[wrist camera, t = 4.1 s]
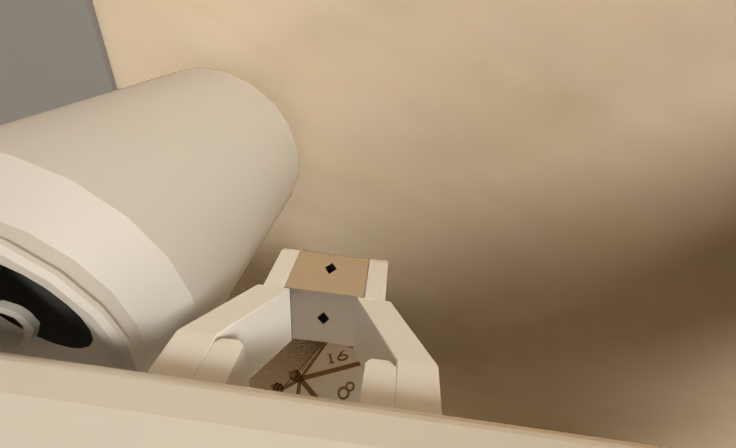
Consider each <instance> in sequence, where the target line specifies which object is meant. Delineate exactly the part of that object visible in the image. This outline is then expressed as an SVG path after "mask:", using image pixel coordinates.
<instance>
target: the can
mask: <svg viewBox="0 0 736 448" xmlns="http://www.w3.org/2000/svg"><path fill="white" fill-rule="evenodd" d="M297 178H298V151H297V148H296V145H295V142H294V138H293V135H292V132H291V129H290V127H289V126H288V124H287V123H286V121H285V120H284V118H283V117H282V115H281V114H280V112H279V111H278V109H277V107H276V106H275V105H274V104H273V103H272V102H271V101H270V100H269V99H268V98H267V97H265V96H264V95H263V94H262V93H261V92H260V91H259V90H257V89H256V88H255V87H254V86H253V85H252V84H250V83H248V82H245V81H243V80H241V79H239V78H237V77H235V76H233V75H231V74H229V73H227V72H224V71H217V70H210V69H203V68H193V69H189V70H184V71H180V72H175V73H171V74H168V75H165V76H161V77H158V78H155V79H151V80H148V81H145V82H142V83H138V84H135V85H132V86H128V87H125V88H122V89H118V90H115V91H112V92H108V93H105V94H102V95H98V96H95V97H92V98H89V99H85V100H82V101H79V102H75V103H72V104H69V105H65V106H62V107H59V108H55V109H52V110H49V111H45V112H42V113H39V114H36V115H32V116H29V117H26V118H22V119H19V120H16V121H12V122H9V123H6V124H2V125H0V352H5V353H12V354H19V355H26V356H33V357H40V358H47V359H54V360H61V361H68V362H75V363H83V364H90V365H97V366H104V367H111V368H118V369H125V370H132V371H139V372H146V373H147V372H148V370H149V369H150V368H151V366H152V365H153V363H154V362H155V361H156V359H157V358H158V356H159V355H160V354H161V352H162V351H163V349H164V348H165V347H166V345H167V344H168V342H169V341H170V340H171V338H172V337H173V335H174V334H175V333H176V331H177V330H178V329H180V328H182V327H184V326H185V325H187V324H189V323H191V322H193V321H194V320H196V319H198V318H200V317H201V316H203V315H205V314H207V313H208V312H210V311H212V310H214V309H215V308H217V307H219V306H221V305H222V304H224V303H225V302H226V301H227V299H228V297H229V296H230V294H231V292H232V291H233V289H234V287H235V286H236V284H237V283H238V281H239V279H240V278H241V276H242V274H243V273H244V271H245V270H246V268H247V266H248V265H249V263H250V261H251V260H252V258H253V256H254V255H255V253H256V252H257V250H258V248H259V247H260V245H261V243H262V242H263V240H264V239H265V237H266V235H267V234H268V232H269V230H270V229H271V227H272V225H273V224H274V222H275V221H276V219H277V217H278V216H279V214H280V212H281V211H282V209H283V208H284V206H285V204H286V203H287V201H288V199H289V198H290V196H291V194H292V191H293V188H294V186H295V183H296V181H297Z"/></svg>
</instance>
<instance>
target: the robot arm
mask: <svg viewBox="0 0 736 448" xmlns="http://www.w3.org/2000/svg"><path fill="white" fill-rule="evenodd" d="M369 261H370V262H369ZM387 271H388V261H387V260H377V259H363V258H355V257H347V256H338V255H333V254H326V253H319V252H312V251H306V250H298V249H290V248H284V249H282V250H281V252H280V253H279V255H278V257H277V259H276V261H275V263H274V265H273V267H272V269H271V271H270V273H269V275H268V276H267V278H266V280H265V282H264V284H263V285H260V284H258V285H256V286H254V287H252V288H251V289H249V290H247V291H245V292H243V293H242V294H240V295H238V296H236V297H235V298H233V299H231V300H229V301H228V302H226V303H224V304H222V305H221V306H219V307H217V308H215V309H214V310H212V311H210V312H208V313H207V314H205V315H203V316H201V317H200V318H198V319H196V320H194V321H193V322H191V323H189V324H187V325H185V326H184V327H182V328H180V329H178V330H177V331H176V333H175V334H174V335H173V337H172V338H171V340H170V341H169V342H168V344H167V345H166V347H165V348H164V349H163V351H162V352H161V354H160V355H159V356H158V358H157V359H156V361H155V362H154V363H153V365H152V366H151V368H150V369H149V370H148V372H147V373H146V372H139V371H132V370H125V369H118V368H111V367H104V366H97V365H90V364H83V363H75V362H68V361H61V360H54V359H47V358H40V357H33V356H26V355H19V354H12V353H5V352H0V448H672V447H664V446H657V445H650V444H643V443H636V442H629V441H622V440H615V439H608V438H601V437H595V436H588V435H581V434H574V433H567V432H560V431H553V430H546V429H539V428H532V427H525V426H518V425H511V424H504V423H497V422H490V421H483V420H476V419H469V418H462V417H455V416H448V415H442V406H441V394H440V381H439V369H438V365H437V364H436V363H435V361H434V360H433V359H432V357H431V356H430V355H429V353H428V352H427V351H426V349H425V348H424V346H423V345H422V344H421V342H420V341H419V340H418V338H417V337H416V336H415V334H414V333H413V332H412V330H411V329H410V328H409V326H408V325H407V323H406V322H405V321H404V319H403V318H402V317H401V315H400V314H399V313H398V311H397V310H396V309H395V307H394V306H393V304H392V303H391V302H390V301H385V296H386V283H387ZM292 338H293V339H303V340H312V341H321V342H328V343H334V344H340V345H346V346H352V347H353V349H354V351H355V353H356V356H357V358H358V360H359V362H360V364H361V367H362V369H363V371H364V376H363V383H362V390H361V397H360V403H356V402H349V401H342V400H335V399H328V398H321V397H314V396H307V395H300V394H293V393H286V392H279V391H272V390H265V389H258V388H251V387H250V384H249V379H251V378H252V377H253V376H254V375H255V374H256V373H257V372H258V371H259V370H260V369H261V368H262V367H263V366H265V365H266V364H267V363H268V362H269V361H270V360H271V359H272V358H273V357H274V356H275V355H276V354H278V353H279V352H280V351H281V350H282V349H283V348H284V347H285V346H286V345H287V344H288V343H289V342H291V341H292Z"/></svg>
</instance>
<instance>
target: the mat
mask: <svg viewBox="0 0 736 448" xmlns="http://www.w3.org/2000/svg"><path fill="white" fill-rule="evenodd" d="M115 90H117V87H116V84H115V80H114V77H113V73H112V70H111V67H110V63H109V60H108V56H107V53H106V49H105V46H104V42H103V39H102V35H101V32H100V28H99V25H98V21H97V18H96V14H95V11H94V7H93V4H92V1H91V0H0V125H2V124H6V123H9V122H12V121H16V120H19V119H22V118H26V117H29V116H32V115H36V114H39V113H42V112H45V111H49V110H52V109H55V108H59V107H62V106H65V105H69V104H72V103H75V102H79V101H82V100H85V99H89V98H92V97H95V96H98V95H102V94H105V93H108V92H112V91H115Z"/></svg>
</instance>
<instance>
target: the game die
mask: <svg viewBox="0 0 736 448" xmlns="http://www.w3.org/2000/svg"><path fill="white" fill-rule="evenodd" d="M289 374H290V380H289V381H288V382H287V383H286V385H285V386H283V385H282V384H279V383H276V384H274V385H271V387H272V388H273V390H274V391H279V392H286V393H293V394H300V395H307V396H314V397H321V398H328V399H335V400H342V401H349V402H356V403H360V397H361V390H362V383H363V376H364V371H363V369H362V367H361V364H360V362H359V360H358V358H357V356H356V353H355V351H354V349H353V347H352V346H346V345H340V344H334V343H328V342H324V343H323V344H322V345H321V346H320V347H319V348H318V349H317V350H316V352H315V353H314V354H313V355H312V356H311V357H310V358H309V359H308V360H307V361H306V363H305V364H304V365H303V366H302V367H301V368H300V369H299V370H295V371H292V372H289Z"/></svg>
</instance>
